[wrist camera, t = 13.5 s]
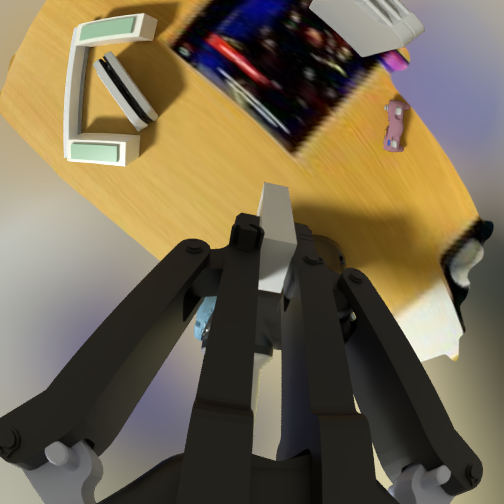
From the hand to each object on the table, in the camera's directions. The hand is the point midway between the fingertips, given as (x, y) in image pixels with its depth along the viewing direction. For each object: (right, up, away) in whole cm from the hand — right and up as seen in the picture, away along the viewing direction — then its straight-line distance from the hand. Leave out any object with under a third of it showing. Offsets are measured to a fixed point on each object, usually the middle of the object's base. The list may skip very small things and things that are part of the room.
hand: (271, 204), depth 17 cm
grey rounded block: (-23, +27, +23) cm, 43 cm away
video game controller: (+24, +20, +24) cm, 40 cm away
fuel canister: (+13, +36, +14) cm, 41 cm away
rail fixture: (-29, +28, +22) cm, 46 cm away
